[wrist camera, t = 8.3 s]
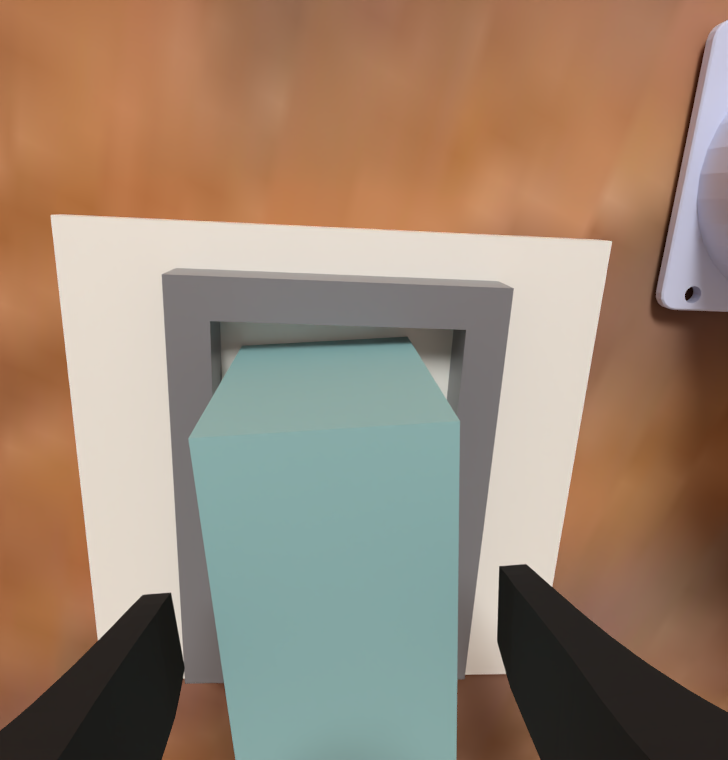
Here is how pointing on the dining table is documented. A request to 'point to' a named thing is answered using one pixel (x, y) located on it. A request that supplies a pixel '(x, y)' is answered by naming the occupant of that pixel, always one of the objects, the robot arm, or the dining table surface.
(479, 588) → the socket board
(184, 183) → the dining table surface
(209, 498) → the teal block
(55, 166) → the dining table surface
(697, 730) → the robot arm
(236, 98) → the dining table surface
